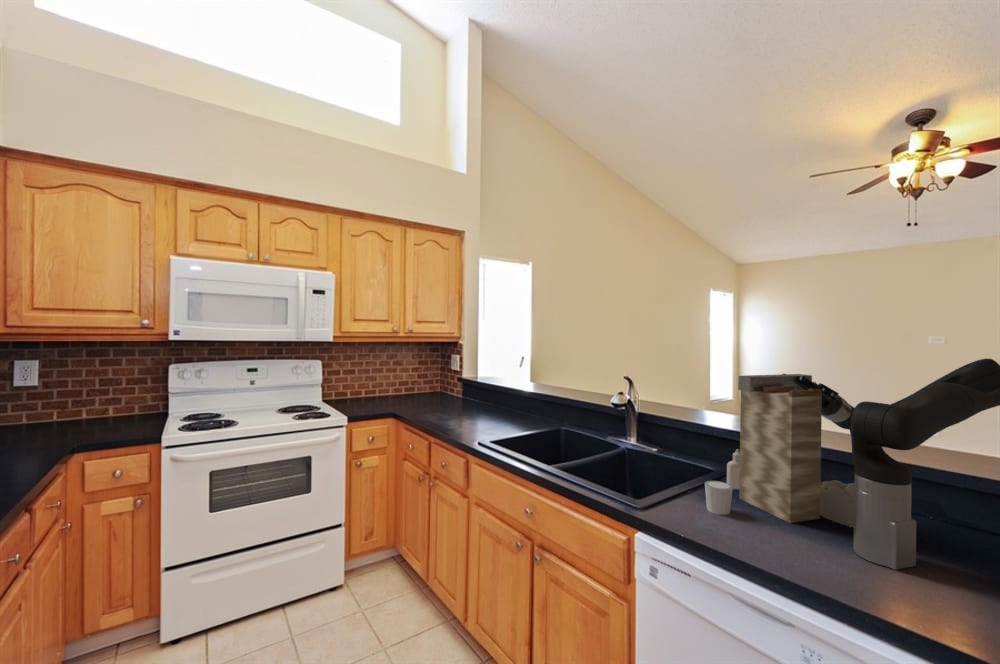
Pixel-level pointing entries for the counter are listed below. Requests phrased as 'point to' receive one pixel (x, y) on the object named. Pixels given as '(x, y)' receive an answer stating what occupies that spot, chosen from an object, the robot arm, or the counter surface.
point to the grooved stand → (781, 451)
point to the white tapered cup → (718, 497)
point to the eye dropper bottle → (734, 471)
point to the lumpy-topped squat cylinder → (837, 502)
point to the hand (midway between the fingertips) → (791, 377)
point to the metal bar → (770, 381)
